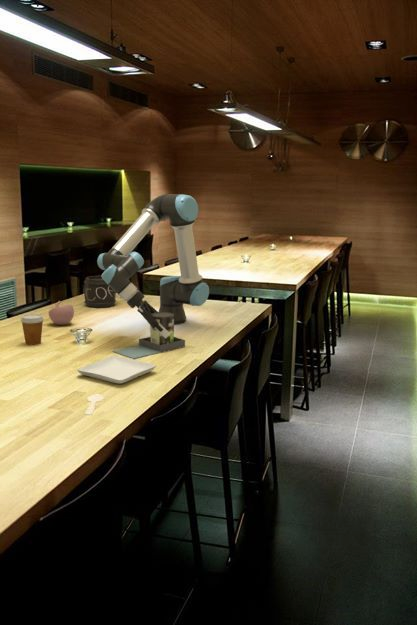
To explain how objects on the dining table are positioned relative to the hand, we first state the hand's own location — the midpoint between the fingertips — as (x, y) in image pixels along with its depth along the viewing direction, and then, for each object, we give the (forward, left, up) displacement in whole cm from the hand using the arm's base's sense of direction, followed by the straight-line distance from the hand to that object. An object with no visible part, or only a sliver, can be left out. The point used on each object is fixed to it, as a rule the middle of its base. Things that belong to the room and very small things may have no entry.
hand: (169, 332), depth 258 cm
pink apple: (+13, -64, -6) cm, 66 cm away
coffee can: (+2, -2, -6) cm, 7 cm away
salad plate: (+40, +16, -7) cm, 43 cm away
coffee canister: (-29, -90, -6) cm, 95 cm away
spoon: (+64, +35, -7) cm, 73 cm away
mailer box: (+9, -2, -6) cm, 11 cm away
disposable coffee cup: (+41, -42, -6) cm, 59 cm away
